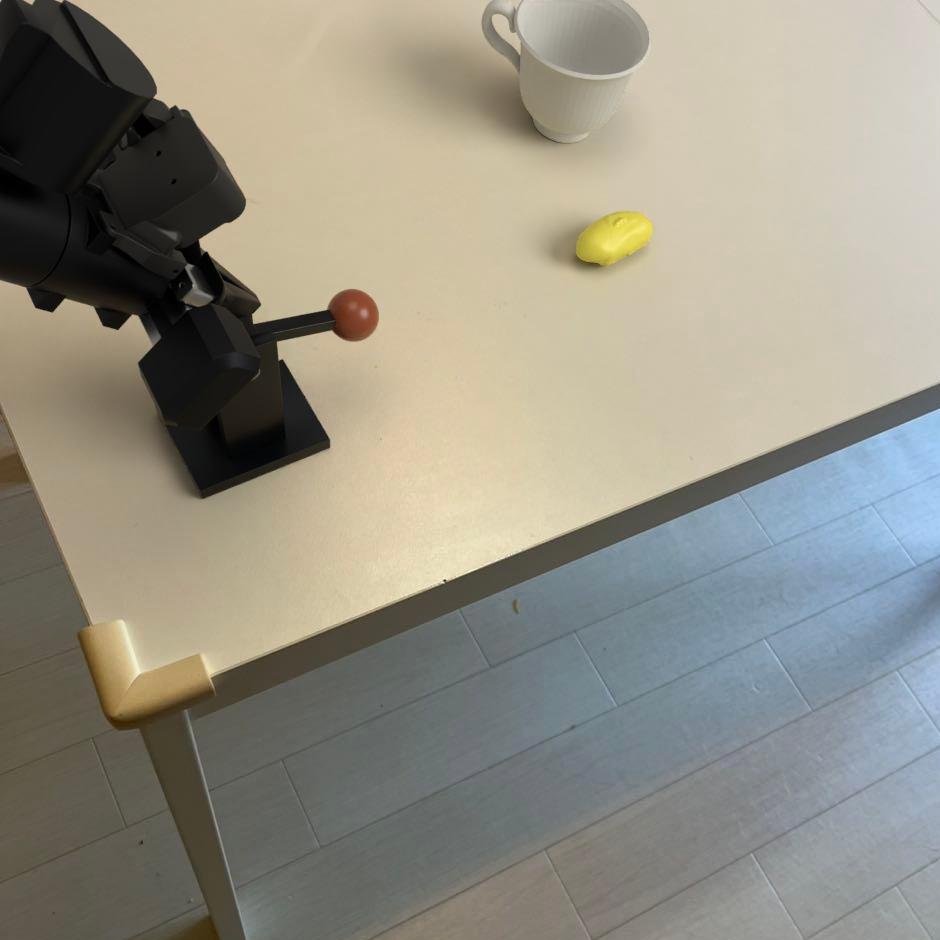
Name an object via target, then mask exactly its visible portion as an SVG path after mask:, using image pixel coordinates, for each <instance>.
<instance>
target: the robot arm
mask: <svg viewBox="0 0 940 940" xmlns="http://www.w3.org/2000/svg"><path fill="white" fill-rule="evenodd" d="M157 94H158V87H157V83H156V81H155V79H154V77H153V75H152V74H151V72H150V70H149V69H148V68H147V66H146V65H145V64H144V63H143V61H142V60H141V59H140V58H139V56H138V55H137V54H136V53H135V52H134V51H133V49H131V48H130V47H129V46H128V45H127V44H126V43H125V42H124V41H123V40H122V39H121V38H120V37H119V36H118V35H116V33H114V32H113V31H112V30H111V29H109V28H108V27H107V26H106V25H105V24H104V23H102V22H101V21H99V20H98V19H97V18H96V17H94V16H93V15H91V14H90V13H88V12H87V11H86V10H84V9H83V8H81V7H79V6H78V5H77V4H74V3H73V2H71V1H69V0H62V1H59V0H34V1H33V2H32V3H29V2H28V1H26V0H0V281H1V282H5V283H8V284H11V285H15V286H18V287H22V288H25V289H26V291H27V293H28V295H29V297H30V300H31V302H32V304H33V306H34V308H35V309H37V310H41V311H45V312H47V313H52V314H54V312H55V311H56V310H57V308H59V306H60V305H61V304H62V303H63V302H64V301H65V300H69V301H72V302H75V303H80V304H83V305H86V306H90V307H93V309H94V310H95V313H96V315H97V317H98V319H99V322H100V323H101V325H102V327H105V328H109V329H112V330H116V331H119V330H120V329H121V328H122V327H123V326H124V325H125V323H126V322H127V321H128V320H129V319H130V318H131V317H132V316H136V317H138V318H139V319H138V320H140V323H141V325H142V326H143V329H144V331H145V333H146V335H147V337H148V339H149V341H150V343H151V345H152V347H151V348H150V349H149V350H148V351H147V352H146V353H145V354H144V355H143V356H142V358H141V359H140V360H139V361H138V362H137V366H138V370H139V373H140V377H141V379H142V382H143V384H144V385H145V387H146V389H147V391H148V394H149V396H150V397H151V400H152V402H153V404H154V405H155V406H156V407H155V406H154V407H155V409H156V408H157V410H158V412H159V414H160V416H161V418H162V420H163V422H164V424H167V425H172V426H178V427H184V428H189V429H195V430H201V429H202V428H203V427H204V426H205V425H206V424H207V423H208V422H209V421H210V420H211V419H212V418H213V417H215V416H216V415H217V414H218V413H219V412H220V411H221V410H222V409H223V408H224V407H225V406H226V405H227V404H228V403H229V402H230V401H231V400H232V399H233V398H234V397H235V396H236V395H237V394H238V393H239V392H240V391H241V390H242V389H243V388H244V387H245V386H246V385H247V384H248V383H249V382H250V381H251V380H252V379H253V378H254V377H255V376H256V375H257V374H258V373H259V368H260V362H261V357H260V355H259V353H258V352H257V350H256V348H255V346H254V344H253V342H252V340H251V339H250V337H249V335H248V333H247V331H246V329H245V327H244V325H243V324H242V322H241V321H240V320H239V318H242V317H246V316H250V315H252V316H253V314H255V313H256V312H257V311H258V310H259V309H260V308H261V306H262V303H261V301H260V299H259V297H258V295H257V294H256V293H255V292H254V291H253V290H251V289H250V288H249V287H248V286H247V285H246V284H244V282H242V281H241V280H240V279H238V278H237V277H236V276H235V275H233V274H232V272H230V271H229V270H228V269H226V268H225V267H224V266H223V265H222V264H221V263H219V262H218V261H217V260H216V259H214V258H213V257H212V256H211V255H210V253H209V251H208V250H204V248H203V247H201V242H200V240H201V239H202V238H204V237H205V236H207V235H209V234H210V233H212V232H214V231H215V230H217V229H218V228H220V227H221V226H223V225H224V224H231V223H232V222H234V221H236V220H237V219H239V218H240V216H241V215H242V214H243V213H244V211H245V210H246V207H247V199H246V196H245V194H244V192H243V190H242V189H241V188H240V186H239V184H238V183H237V180H236V179H235V177H234V175H233V173H232V172H231V170H230V169H229V167H228V165H227V162H226V160H225V158H224V156H223V155H222V154H221V153H220V152H219V151H218V150H217V148H216V147H215V146H214V145H213V143H212V142H211V141H210V140H209V138H208V136H206V134H205V133H204V132H203V130H201V128H200V127H199V126H198V125H197V122H196V121H195V119H194V117H193V115H192V114H191V112H190V110H188V109H186V108H181V109H180V108H179V107H178V105H176V104H174V105H173V106H171V107H169V106H168V105H167V103H165V102H164V101H162V100H160V99H157V98H155V97H156V95H157ZM157 410H156V411H157Z"/></svg>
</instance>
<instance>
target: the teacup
mask: <svg viewBox="0 0 940 940" xmlns="http://www.w3.org/2000/svg"><path fill="white" fill-rule="evenodd" d="M494 15H501V16H503V17H505V18H506V20H507V21H508V27H509V31H510V33H512V34H515V33H516V36H517V38H518V39H519V41H520V52H518V50H517V49H516V48H515V47H514V46H513V45H512V44H511V43H510V42H508V41H507V40H506V39H504V38H503V37H502V36H501V35H500V34H499V33H498V31H497V30H496V27H495V26H494V24H493V16H494ZM480 25H481V31H482V34H483V36H484V39H485V40H486V42H487V43H488V44H489V46H490V47H491V48H492V49H493V50H494V51H496V52H497V53H498V54H500V55H501V56H503V57H504V58H505V59H507V60H508V61H509V62H510V63H511V65H512V67H514V70H515V71H516V73H517V75H518V77H519V91H520V96H521V100H522V102H523V105H524V107H525V109H526V110H527V112H528V113H529V115H530V116H531V117H532V122H533V124H534V127H535V128H536V129H537V131H538V132H539V133H540V134H542V135H543V136H544V137H545V138H547V139H550V140H552V141H554V142H557V143H563V144H574V143H578V142H581V141H583V140H585V139H586V138H587V137H588V136H589V135H590V133H591V132H594V131H596V130H598V129H600V128H602V127H603V126H604V125H605V124H607V122H609V120H610V119H611V117H612V116H613V115H614V113H615V112H616V110H617V108H618V106H619V104H620V102H621V100H622V98H623V96H624V94H625V91H626V89H627V86H628V85H629V82H630V80H631V77H632V75H633V73H634V72H635V71H637V70H638V69H640V68H641V67H642V66H643V65H644V64H645V62H646V61H647V60H648V58H649V55H650V53H651V49H652V36H651V32H650V30H649V27H648V26H647V23H646V22H645V21H644V19H643V18H642V16H641V15H640V14H639V13H638V12H637V10H636V9H635V8H634V7H633V6H631V5H630V4H629V3H628V2H626V1H625V0H521V1H520V2H519V3H518V5H517V7H516V6H515V5H514V4H513V3H512V2H511V1H509V0H490V1H489V2H488V3H487V4H486V6H485V8H484V10H483V13H482V16H481V24H480Z"/></svg>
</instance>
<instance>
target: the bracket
mask: <svg viewBox="0 0 940 940" xmlns="http://www.w3.org/2000/svg"><path fill="white" fill-rule="evenodd" d="M248 317H249V318H250V320H251V322H252V323H253V324H254V318H253V314H252V315H250V316H248ZM249 337H250V339H251V340H252V342H253V344H254V346H255V348H256V350H257V352H258V353H259V355H260V357H261V362H260V368H259V373H258V374H257V375H256V376H255V377H254V378H253V379H252V380H251V381H250V382H249V383H248V384H247V385H246V386H245V387H244V388H243V389H242V390H241V391H240V392H239V393H238V394H237V395H236V396H235V397H234V398H233V399H232V400H231V401H230V402H229V403H228V404H227V405H226V406H225V407H224V408H223V409H222V410H221V411H220V412H219V413H218V414H217V415H216V416H215V417H213V418H212V419H211V420H210V421H209V422H208V423H207V424H206V425H205V426H204V427H203V428H202V429H201V430H195V429H189V428H184V427H178V426H172V425H167V424H164V422H163V420H162V418H161V416H160V414H159V412H158V410H157V408H156V406H154V407H155V410H156V413H157V416H158V418H159V420H160V421H161V424H162V425H163V428H164V429H165V431H166V433H167V435H168V437H169V439H170V441H171V443H172V445H173V446H174V449H175V451H176V452H177V455H178V457H179V458H180V460H181V462H182V463H183V465H184V468H185V470H186V471H187V473H188V476H189V477H190V479H191V481H192V482H193V484H194V487H195V488H196V490H197V492H198V494H199V496H200V498H201V499H202V500H205V499H207V498H209V497H211V496H214V495H216V494H219V493H222V492H224V491H227V490H229V489H231V488H234V487H237V486H240V485H242V484H244V483H246V482H250V481H252V480H254V479H256V478H259V477H262V476H265V475H267V474H270V473H272V472H273V471H276V470H278V469H282V468H284V467H286V466H289V465H291V464H294V463H297V462H299V461H301V460H304V459H307V458H309V457H312V456H313V455H316V454H318V453H321V452H325V451H326V450H329V449H330V448H331V438H330V437H329V434H328V433H327V431H326V429H325V428H324V426H323V424H322V423H321V421H320V419H319V418H318V417H317V415H316V412H315V411H314V409H313V408H312V405H311V404H310V403H309V401H308V399H307V398H306V396H305V394H304V392H303V391H302V389H301V386H300V385H299V383H298V382H297V380H296V378H295V377H294V375H293V373H292V372H291V370H290V368H289V367H288V366H287V363H286V362H285V360H284V358H282V359H279V350H278V348H279V347H278V342H277V340H276V338H275V336H274V334H273V333H272V331H271V330H270V329H269V330H266V331H264V332H261V333H258V334H255V335H252V336H249Z"/></svg>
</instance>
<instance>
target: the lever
mask: <svg viewBox="0 0 940 940" xmlns="http://www.w3.org/2000/svg"><path fill="white" fill-rule="evenodd" d="M239 320H240V321H241V322H242V324H243V325H244V327H245V329H246V331H247V333H248V335H249V336H252V335H255V334H258V333H261V332H264V331H266V330H269V329H270V330H271V331H272V333H273V334H274V336H275V338H276V340H277V343H278V342H283V341H287V340H288V341H289V340H292V339H297V338H298V339H299V338H303V337H308V336H312V335H316V334H317V335H318V334H322V333H326V332H332V333H333V334H334V335H335V336H336V337H338V338H340V339H341V340H343V341H346V342H349V343H357V342H361V341H364V340H366V339H368V338H369V337H371V336H372V335H373V334H374V332H375V331H376V330H377V328H378V325H379V323H380V321H379V320H380V311H379V308H378V304H377V303H376V301H375V300H374V298H373V297H372V296H371V295H370V294H368V293H367V292H365V291H363V290H361V289H357V288H347V289H343V290H340V291H338V292H337V293H336V294H334V296H332V298H331V299H330V301H329V302H328V305H327V307H326V309H325V310H319V311H313V312H309V313H308V312H307V313H304V314H299V315H293V316H288V317H283V318H277V319H273V320H267V321H262V322H257V323H254V322H253V323H252V322H251V320H250V318H249V317H248V316H246V317H242V318H239Z"/></svg>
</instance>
